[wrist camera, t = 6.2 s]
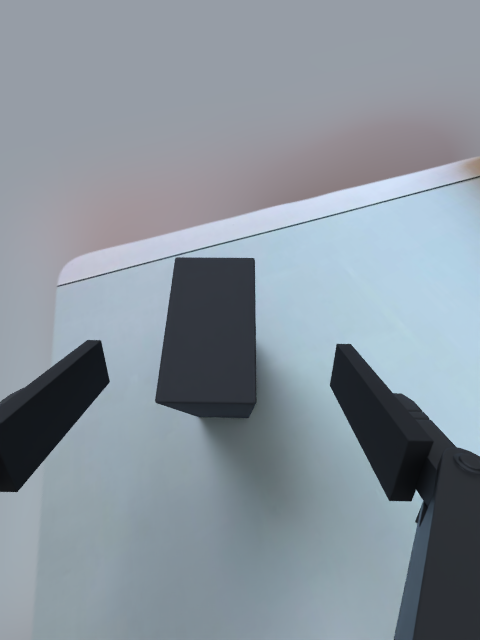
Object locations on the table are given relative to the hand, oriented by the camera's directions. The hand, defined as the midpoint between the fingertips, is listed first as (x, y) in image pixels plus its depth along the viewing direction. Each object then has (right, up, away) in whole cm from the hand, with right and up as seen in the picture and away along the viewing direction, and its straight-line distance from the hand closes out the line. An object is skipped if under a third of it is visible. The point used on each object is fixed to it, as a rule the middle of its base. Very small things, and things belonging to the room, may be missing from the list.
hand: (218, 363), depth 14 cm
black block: (0, -2, +7) cm, 7 cm away
